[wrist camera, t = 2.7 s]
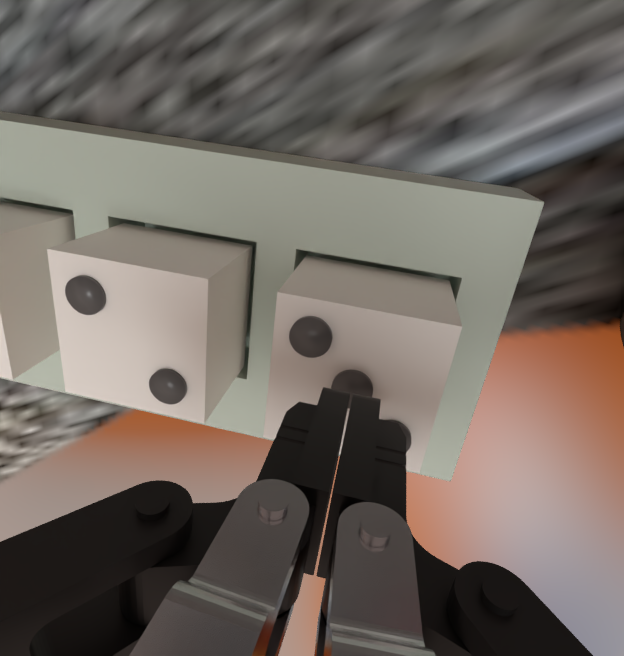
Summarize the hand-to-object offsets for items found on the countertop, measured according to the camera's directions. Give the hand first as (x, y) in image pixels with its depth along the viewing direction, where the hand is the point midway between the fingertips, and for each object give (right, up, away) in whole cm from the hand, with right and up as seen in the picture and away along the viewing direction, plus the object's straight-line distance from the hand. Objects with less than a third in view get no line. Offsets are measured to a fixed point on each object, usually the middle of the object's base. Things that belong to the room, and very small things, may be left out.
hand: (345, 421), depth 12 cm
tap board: (-5, +5, +9) cm, 11 cm away
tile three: (+1, +2, +5) cm, 6 cm away
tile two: (-6, +4, +6) cm, 9 cm away
